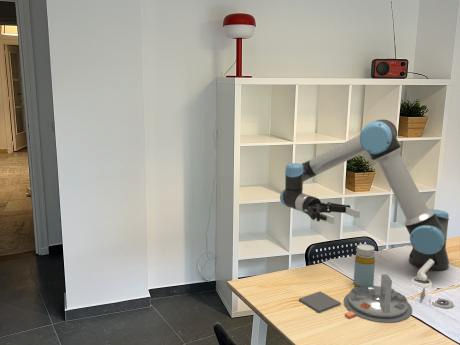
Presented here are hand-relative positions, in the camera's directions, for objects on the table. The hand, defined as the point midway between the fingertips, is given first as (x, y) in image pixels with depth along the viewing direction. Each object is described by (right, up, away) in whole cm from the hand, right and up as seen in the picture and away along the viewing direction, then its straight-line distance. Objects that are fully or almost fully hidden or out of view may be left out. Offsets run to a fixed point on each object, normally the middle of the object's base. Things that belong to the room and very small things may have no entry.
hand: (346, 217), depth 169 cm
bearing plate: (+6, -28, -18) cm, 34 cm away
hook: (+27, -25, -2) cm, 37 cm away
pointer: (-5, -29, -25) cm, 39 cm away
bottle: (+5, -25, -3) cm, 26 cm away
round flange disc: (+6, -28, -18) cm, 34 cm away
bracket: (+26, -28, -16) cm, 42 cm away
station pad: (-14, -28, -16) cm, 35 cm away
